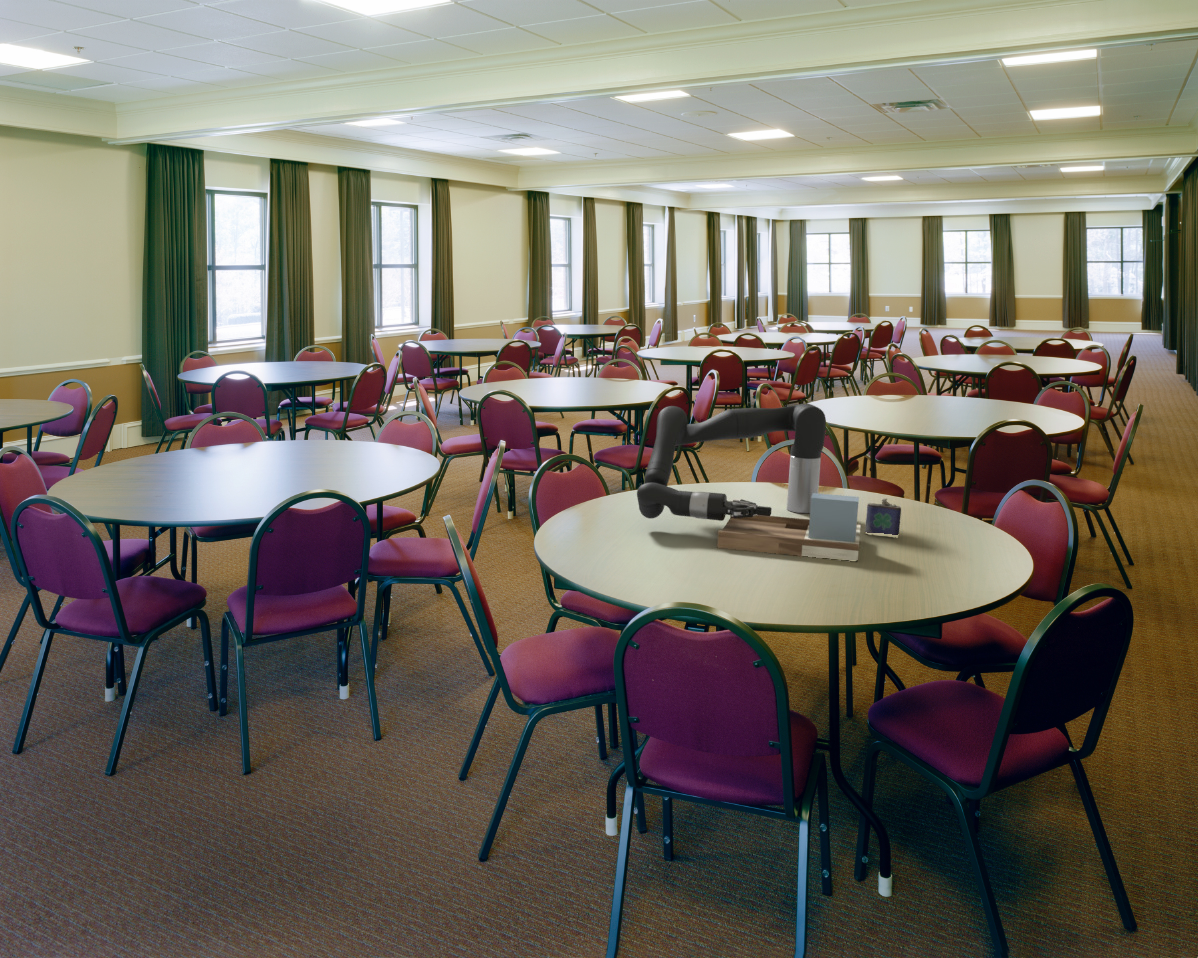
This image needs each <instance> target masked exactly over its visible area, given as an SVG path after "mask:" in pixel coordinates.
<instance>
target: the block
mask: <svg viewBox="0 0 1198 958" xmlns="http://www.w3.org/2000/svg"><path fill="white" fill-rule="evenodd" d="M859 500H860V497H859V496H852V495H841V494H840V495H839V494H830V493H829V494H827V493H819V492H818V493H813V494H812V497H811V508H810V513H809V519H810V521H809V535H808V538H814V539H824V540H834V541H845V542H855V537H856V526H857V524H858V513H859Z"/></svg>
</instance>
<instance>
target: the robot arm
mask: <svg viewBox="0 0 1198 958" xmlns="http://www.w3.org/2000/svg"><path fill="white" fill-rule="evenodd" d="M656 419H657V420H656V437H655V440H654V445H653V448H652V451H651V455H650V457H649V458H650V459H649V460H648V464H647V468H646V471H645V474H644V483H643V484H641V485H640V486H639V487H638V488H637V490H636V499H637V502H638V503H637V504H638V509H639V512H640V513H641V515H642V516H643V517H644V518H647V519H656V518H657V517H659V516H660V515H661V514H662V513H663V511H664V509H665V506H666V507H667V508H668V509H669V511H670V513H671V515H674V516H680V517H690V518H695V519H700V520H711V521H720V522H721V521H722V522H723V521H724V520H725V519H726V515H728V516H730V515H731V517H733V518H746V517H753V516H756V515H762V516H772V509H773V508H772V507H771V506H764V505H763V506H761V505H759V504H757V503H756V502H753V501H749V500H745V499H740V500H738V499H733V500H732V501H731V500H729V501H728V500H727V498H728V497H727V495H726V493H721V492H720V493H719V492H711V491H710V492H708V491H687V490H678V489H676V488H673V487H670V486H668V484H669V480H670V477H671V473H672V469H673V464H674V457H675V450H676V447H677V446H682V445H683V446H685V445H690V444H691V445H692V444H695V443H701V442H710V441H711V442H712V441H721V440H737V439H738V440H740V439H751V438H752V439H753V438H757V437H760V436H763V435H766V434H770V433H774V432H794V441H793V444H792V446H791V447H790V455H789V458H790V459H789V471H788V474H789V475H788V487H787V488H788V489H787V502H786V510H787V511H789V512H793V513H798V514H810V508H811V497H812V494H813V493H819V485H820V475H821V474H820V473H821V458H822V451H823V449H824V446H825V437H826V427H827V421H826V420H827V419H826V415H825V413H824V411H823V410H822V409H821V408H819V407H818V406H816V405H813V404H810V403H800V404H794V405H788V406H783V407H772V408H771V407H769V408H767V407H766V408H765V407H750V408H749V407H748V408H747V407H745V408H731V409H730V408H729V409H726V410H723V411H721V412H720V413H718V414H716V415H714V416H712V417H710V418H709V419H706V420H703V421H702V422H697V423H689V424H688V417H687V413H686V412H685V411H684V409H682V408H681V407H678V406H675V405H669V406H666V407H663V409H661V410H660V411H659V413H658V415H657V418H656Z"/></svg>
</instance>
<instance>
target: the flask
mask: <svg viewBox="0 0 1198 958" xmlns="http://www.w3.org/2000/svg"><path fill="white" fill-rule="evenodd" d="M866 505H867V506H866V507H867V508H866V518H865V528H864V529H865V530H864V533H865V532H867V533H884V534H892V535H898V534H899V535H900V529H901V527H900V525H901V516H902V514H901V513H902V507H901V506H900V505H896V504H895V503H890V502H888V498H883V499H882V500H881V503H871V502H868V503H867V504H866Z"/></svg>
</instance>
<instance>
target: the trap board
mask: <svg viewBox="0 0 1198 958" xmlns="http://www.w3.org/2000/svg"><path fill="white" fill-rule="evenodd" d="M809 521H810V518H809V519H807V518H799V517H798V518H797V517H787V516H785V517H784V516H774V515H770V516H762V515H756V516H753V517H746V518H733V517H731V515H729V519H728V520H727V522H726V524H725V525H724V526H723V528H722V529H721V530H717V531H718V532H717V546H716V548H717V547H718V549H719V548H720V549H726V548H728V549H727V550H735V549H736V551H745V550H746V552H756V553H764V552H767V553H766V554H774V553H776V554H777V555H783V554H789V555H788V556H793V555H797V556H796V557H802V556H808V557H807V558H812V557H816V558H815V559H822V558H832V559H844V560H859V551H860V550H859V548H860V537H861V523H857V526H856V537H855V542H845V541H834V540H824V539H814V538H808V535H809ZM776 554H775V555H776Z"/></svg>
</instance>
